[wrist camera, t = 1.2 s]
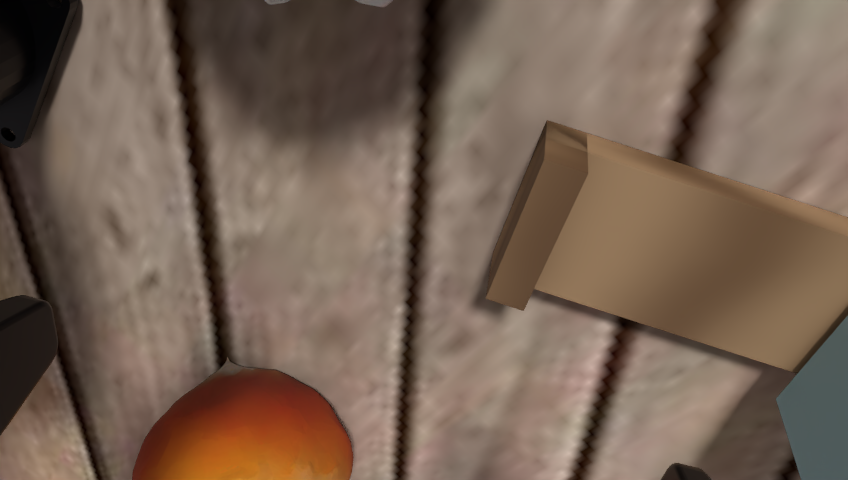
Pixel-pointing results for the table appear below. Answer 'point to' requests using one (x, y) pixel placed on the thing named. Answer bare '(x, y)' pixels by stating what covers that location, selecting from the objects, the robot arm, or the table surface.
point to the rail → (673, 249)
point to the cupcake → (373, 0)
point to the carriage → (820, 411)
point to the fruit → (247, 432)
